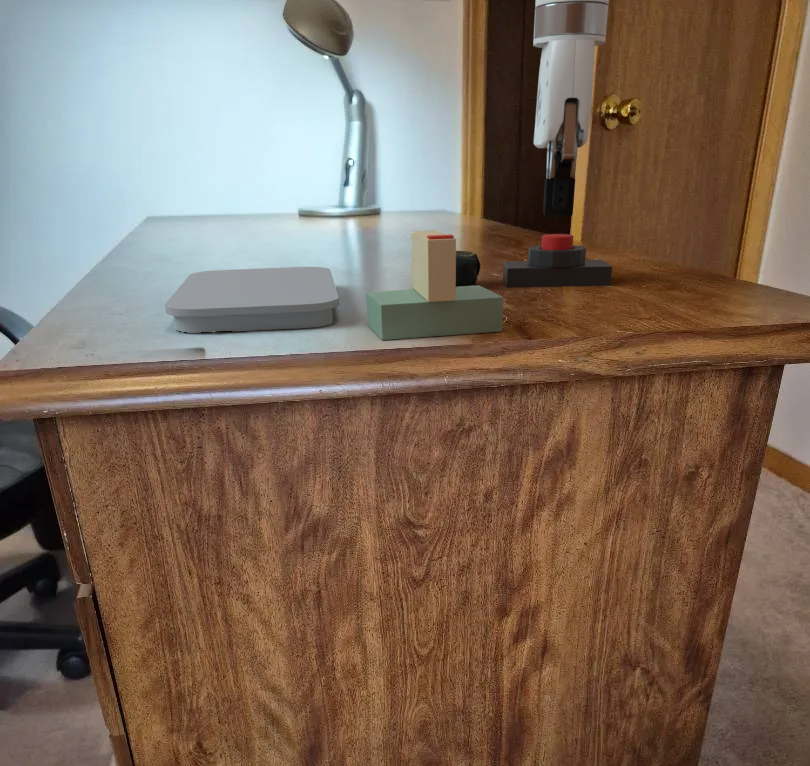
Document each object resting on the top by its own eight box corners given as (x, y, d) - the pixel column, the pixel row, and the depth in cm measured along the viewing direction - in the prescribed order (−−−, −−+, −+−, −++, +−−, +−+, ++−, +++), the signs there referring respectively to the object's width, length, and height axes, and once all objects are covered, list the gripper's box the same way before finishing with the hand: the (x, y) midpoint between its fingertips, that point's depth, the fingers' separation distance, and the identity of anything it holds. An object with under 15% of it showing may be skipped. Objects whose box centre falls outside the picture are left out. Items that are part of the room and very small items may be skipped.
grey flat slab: (163, 336, 72) (159, 310, 71) (195, 290, 95) (192, 271, 94) (341, 327, 74) (340, 302, 73) (330, 285, 97) (329, 265, 96)
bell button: (569, 249, 94) (571, 233, 94) (574, 252, 91) (575, 236, 90) (539, 249, 94) (540, 234, 94) (543, 253, 91) (544, 237, 90)
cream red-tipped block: (412, 287, 74) (411, 228, 72) (436, 286, 75) (436, 227, 72) (428, 302, 67) (427, 236, 65) (455, 300, 68) (456, 235, 65)
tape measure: (417, 291, 91) (416, 257, 90) (427, 282, 97) (427, 249, 96) (475, 292, 90) (476, 257, 88) (482, 282, 96) (483, 249, 94)
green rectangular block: (478, 317, 77) (479, 285, 75) (502, 331, 70) (503, 297, 69) (367, 324, 74) (365, 292, 73) (382, 340, 68) (380, 304, 67)
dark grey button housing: (600, 278, 97) (603, 243, 95) (611, 286, 91) (614, 249, 89) (502, 279, 98) (503, 245, 96) (506, 288, 92) (508, 252, 90)
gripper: (526, 38, 90) (518, 212, 98) (542, 19, 76) (532, 222, 85) (593, 36, 89) (579, 211, 98) (620, 17, 76) (602, 221, 84)
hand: (557, 216), depth 91 cm, fingers closed
